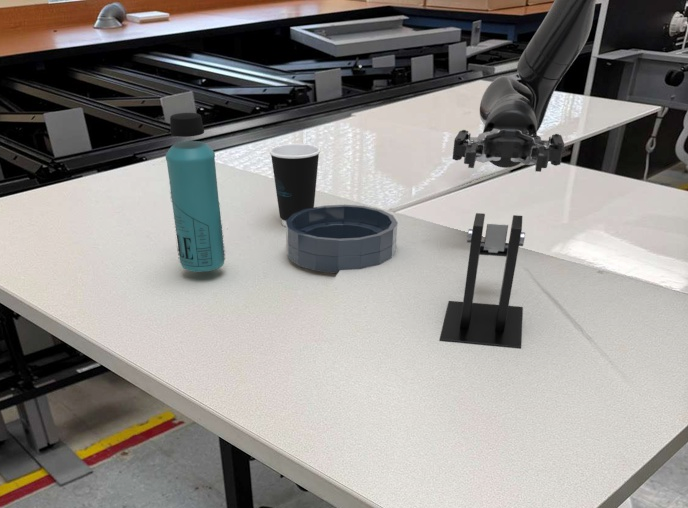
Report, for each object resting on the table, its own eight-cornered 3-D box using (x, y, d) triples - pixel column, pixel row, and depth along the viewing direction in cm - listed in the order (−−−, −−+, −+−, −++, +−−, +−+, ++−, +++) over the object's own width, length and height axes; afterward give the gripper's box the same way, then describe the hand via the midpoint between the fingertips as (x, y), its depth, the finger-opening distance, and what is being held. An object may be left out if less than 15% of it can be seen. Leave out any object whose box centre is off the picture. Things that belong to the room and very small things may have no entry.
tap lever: (471, 258, 90) (474, 238, 89) (512, 261, 89) (515, 240, 88) (470, 246, 77) (473, 222, 76) (518, 249, 76) (521, 225, 75)
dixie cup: (265, 228, 114) (261, 154, 108) (281, 213, 120) (279, 142, 113) (312, 233, 113) (311, 157, 106) (326, 217, 118) (327, 144, 111)
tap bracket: (447, 309, 90) (459, 202, 81) (521, 315, 88) (541, 207, 80) (438, 348, 81) (451, 234, 73) (519, 356, 80) (541, 240, 71)
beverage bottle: (235, 269, 101) (222, 110, 89) (211, 286, 97) (194, 121, 84) (195, 263, 103) (177, 106, 91) (171, 279, 99) (148, 117, 86)
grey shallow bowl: (383, 236, 111) (385, 202, 108) (404, 273, 99) (407, 237, 96) (283, 241, 110) (282, 207, 107) (292, 279, 98) (291, 243, 95)
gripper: (463, 101, 103) (453, 126, 91) (566, 104, 100) (570, 131, 88) (457, 157, 108) (446, 189, 96) (555, 162, 105) (556, 195, 93)
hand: (505, 161), depth 92 cm, fingers open, 8 cm apart
